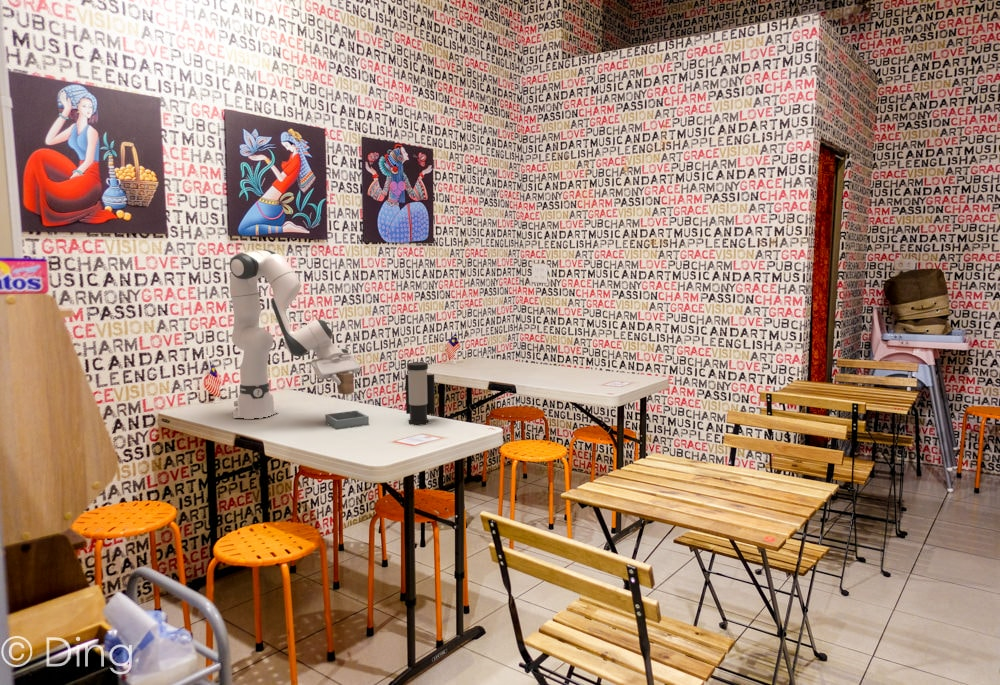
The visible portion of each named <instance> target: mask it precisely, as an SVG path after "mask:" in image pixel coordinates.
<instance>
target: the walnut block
mask: <svg viewBox="0 0 1000 685" xmlns="http://www.w3.org/2000/svg"><path fill="white" fill-rule="evenodd" d="M337 378H339V379H341V380H342V381H343V383H342V384H341V385H338V384H337V394H340V395H349V394H354V393H355V385H354V382H355V380H354V381H353V379H354V374H353V373H347V372H345V373H340V374H337Z"/></svg>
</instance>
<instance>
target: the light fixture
mask: <svg viewBox="0 0 1000 685" xmlns="http://www.w3.org/2000/svg"><path fill="white" fill-rule="evenodd" d="M406 369H407V373H408V374H405V376H404V377H405V380H404V381H405V412H406V415H409V420H408V424H409V425H410V424H414V425H413V426H420V425H419V424H425V425H427V424H426V423H428V422H429V423H430V419H428V415H431V414H432V415H435V413H436V400H435V397H436V396H435V394H436V393H435V374H434V373H433V374H431V373H428V369H429V364H428V362H424V361H417V362H416V361H415V362H408V363H406ZM429 423H428V424H429Z"/></svg>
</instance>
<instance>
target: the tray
mask: <svg viewBox="0 0 1000 685" xmlns="http://www.w3.org/2000/svg"><path fill="white" fill-rule="evenodd" d="M324 416H325V417H324V419H325V420H324V421H325V422H326V423H325V424H327V425H328V424H329V425H328V426H330V427H332V428H333V427H334V429H335V430H342V429H341V428H343V429H349V428H348V427H350V428H356V427H355V426H357V427H362V425H365V426H369V425H370V422H369V419H370V418H369V415H367V414H365V413H363V412H360V411H358V410H350V411H341V412H335V413H327V414H326V413H325V415H324ZM368 424H369V425H368Z"/></svg>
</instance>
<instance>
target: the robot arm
mask: <svg viewBox="0 0 1000 685" xmlns="http://www.w3.org/2000/svg"><path fill="white" fill-rule="evenodd" d="M229 270H230V271H231V272H230V275H229V291H230V297H231V303H232V310H233V330H232V331H233V332H232V334H231V342H232V344H233V345H234V346H235V347H236V348H238V349H239V350H241V351H243V355H242V356H243V357H242V360H241V363H240V365H239V366H240V367H239V372H240V373H239V374H240V384H239V395H238V397H237V400H235V401H233V407H236V408H235V409H233V411H232V419H234V418H244V419H243V420H255V419H254V418H259V419H264V418H263V417H266V418H269V417H268V416H270V417H272V416H273V414H274V415H277V414H279V410H277V409H275V401H274V395H273V394H271V393H270V383H269V377H268V364H269V357H270V351H271V349H272V347H273V345H274V336H273V334H272V333H271V332H270V331H268V330H267V329H266V328H263V327H260V315H261V313H262V306H261V305H262V304H261V300H260V293H259V288H258V280H259V279H260V278H262V279H263V278H264V279H266V280H267V282H268V284H269V285H270V287H271V289H272V294H273V295H272V298H271V306H272V309H273V312H274V316H275V318H276V320H277V323H278V325H279V328H280V330H281V333H282V335H283V340H284V345H285V348H286V349H287V351H288V353H289V354H291V355H292V356H293V357H303V356H305V355H306V354H307V353H309V352H310V351H313V352H314V353H315V356H316V358H315V359H312V360H311V362H310V366H312V369H313V370H314V371H313V372H314V374H315V376H316V377H317V378H318V379H319V380H320V381H321V380H327V379H331V380H332V381H333V382H334V383H336V384H337V386H338V385H341V384H342V383H343V381H342V380H341V379H339V378H337V374H340V373H345V372H347V373H353V375H354V374H358V372H359V370H360V369H361V366H360V363H359V362H358V361H357V359H356V358H355V356H354V355H352V354H351V351H350V350H349V349H347V348H341V347H338V346H336V345H335V343H333V340H332V338H333V331H332V330H331V328H330V327H329V326H328V325H327V324H328V323H327V322H326V320H323V319H319V318H318V319H317V318H316V319H315V320H313V321H310V322H309V323H307V324H305V325H304V326H302V327H300V328H299V329H297V330H293V329H292V327H291V324H290V322H289V319H288V317H287V311H288V308H289V307H290V305H291V304H292V303H293V302H294V301H295V299H296V298H297V297H298V296H299V293H300V290H301V281H300V279H299V277H298V275H297V274H296V271H295V270H294V268H293V267H292V266H291V265H290V264H289V262H288V261H287V260H286V259H285V258H284V257H283V256H282V255H281V254H278V253H276V252H275V251H272V250H269V249H262V250H251V251H247V252H241V253H238V254H236V255H233V256H232V258H231V259H230V261H229ZM353 381H354V382H355V379H354V378H353ZM276 413H277V414H276ZM271 415H272V416H271Z"/></svg>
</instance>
